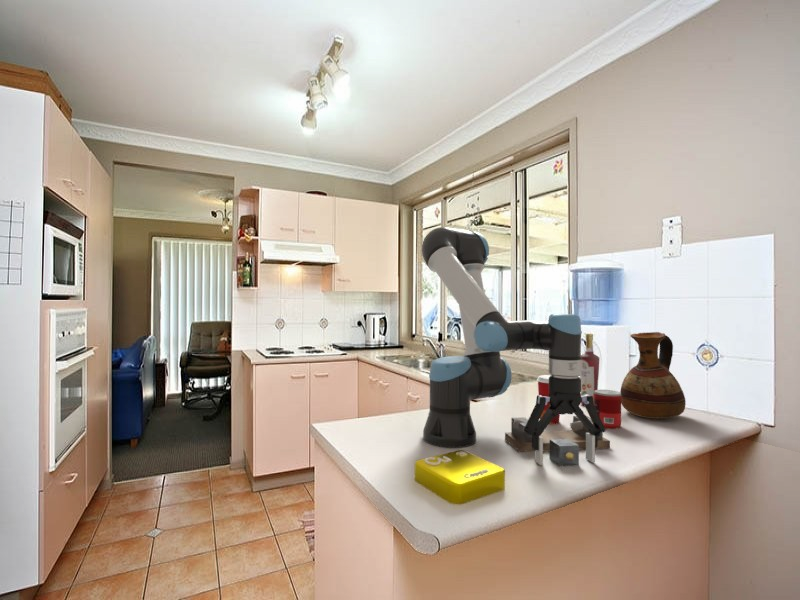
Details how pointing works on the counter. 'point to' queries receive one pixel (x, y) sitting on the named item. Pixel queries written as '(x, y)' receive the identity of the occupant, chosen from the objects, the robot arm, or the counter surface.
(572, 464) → the coupler
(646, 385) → the ceramic pitcher
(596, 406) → the canned food
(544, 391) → the coffee cup
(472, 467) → the element tile
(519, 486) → the counter surface
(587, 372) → the liquor
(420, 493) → the counter surface
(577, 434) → the shaft stand
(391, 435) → the counter surface
